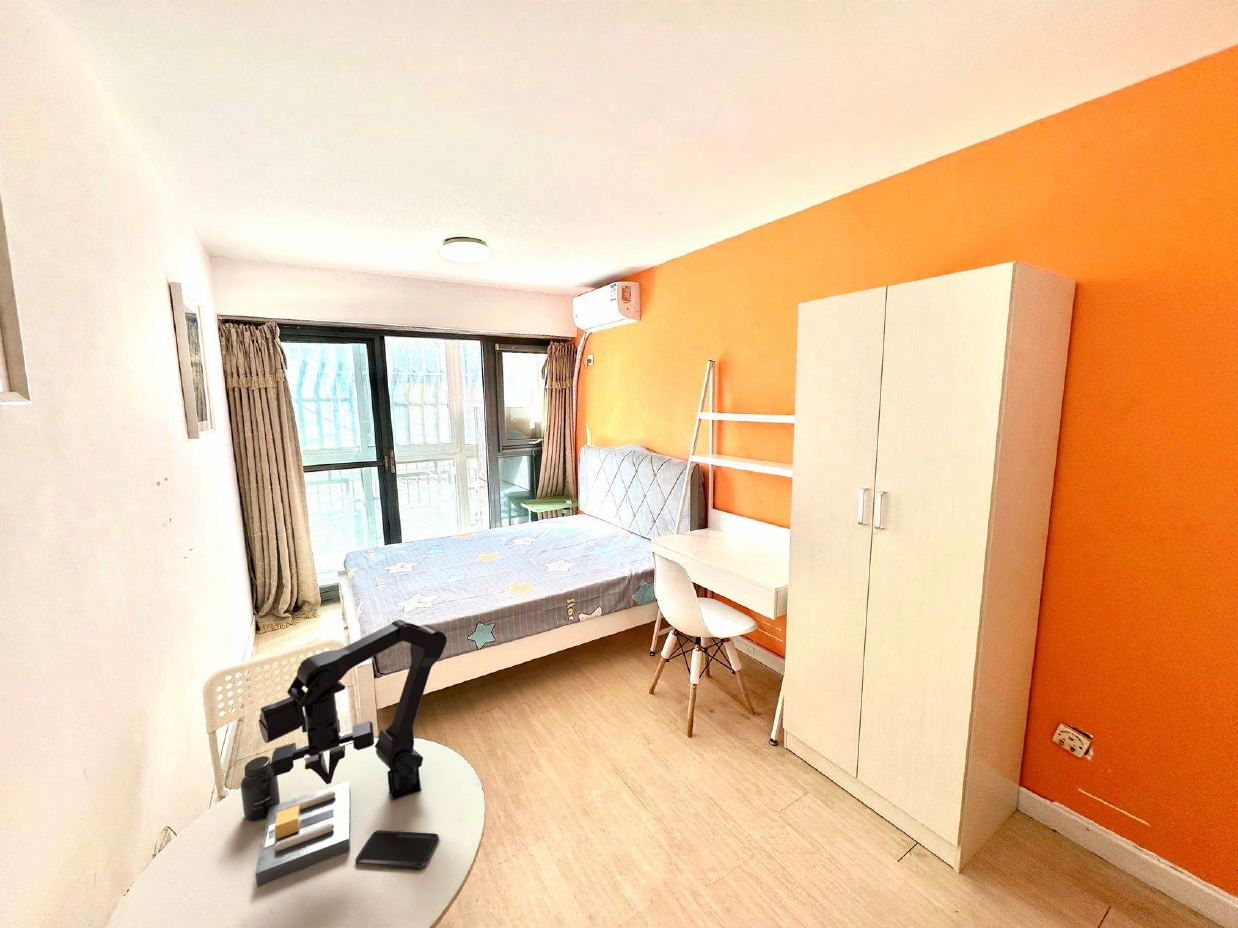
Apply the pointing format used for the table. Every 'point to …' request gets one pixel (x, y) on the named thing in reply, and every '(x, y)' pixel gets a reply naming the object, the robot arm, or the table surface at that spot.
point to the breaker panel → (313, 849)
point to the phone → (397, 850)
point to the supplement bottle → (259, 789)
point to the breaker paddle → (287, 821)
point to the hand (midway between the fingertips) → (329, 782)
